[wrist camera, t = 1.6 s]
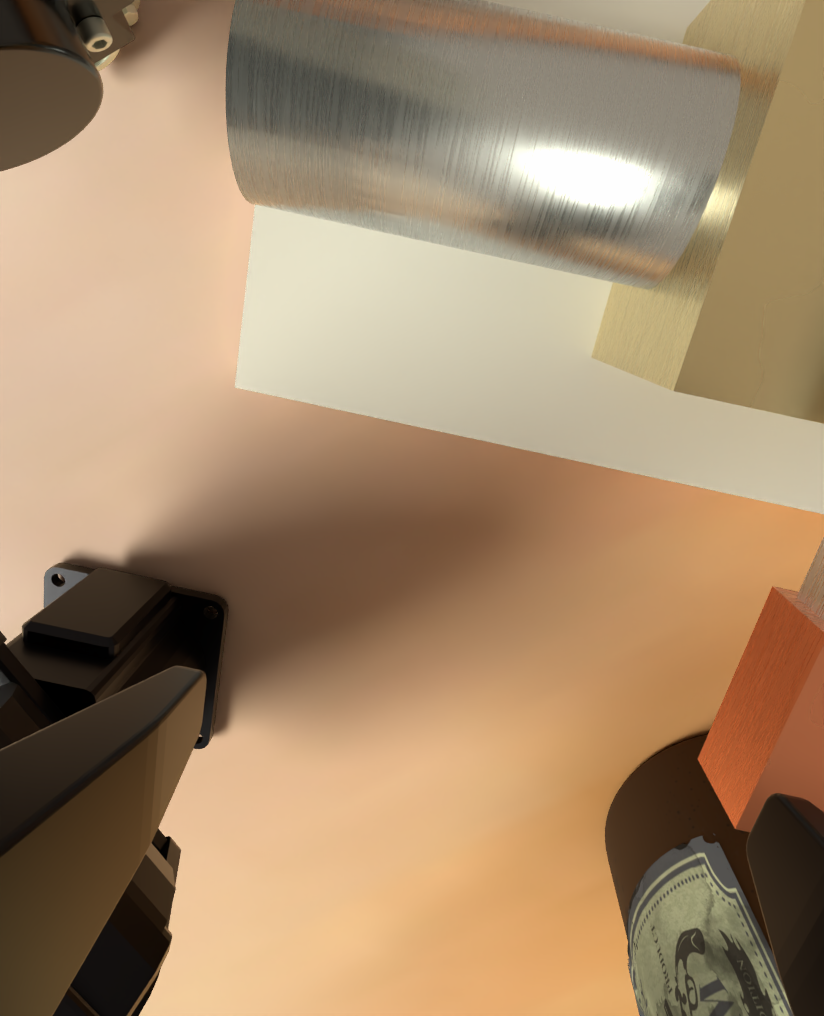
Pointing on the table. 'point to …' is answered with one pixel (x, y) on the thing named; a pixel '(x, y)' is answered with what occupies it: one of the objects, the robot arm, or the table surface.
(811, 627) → the valve lever
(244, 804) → the table surface
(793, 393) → the valve body
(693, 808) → the olive oil
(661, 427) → the mount board
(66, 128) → the pneumatic valve
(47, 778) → the robot arm
